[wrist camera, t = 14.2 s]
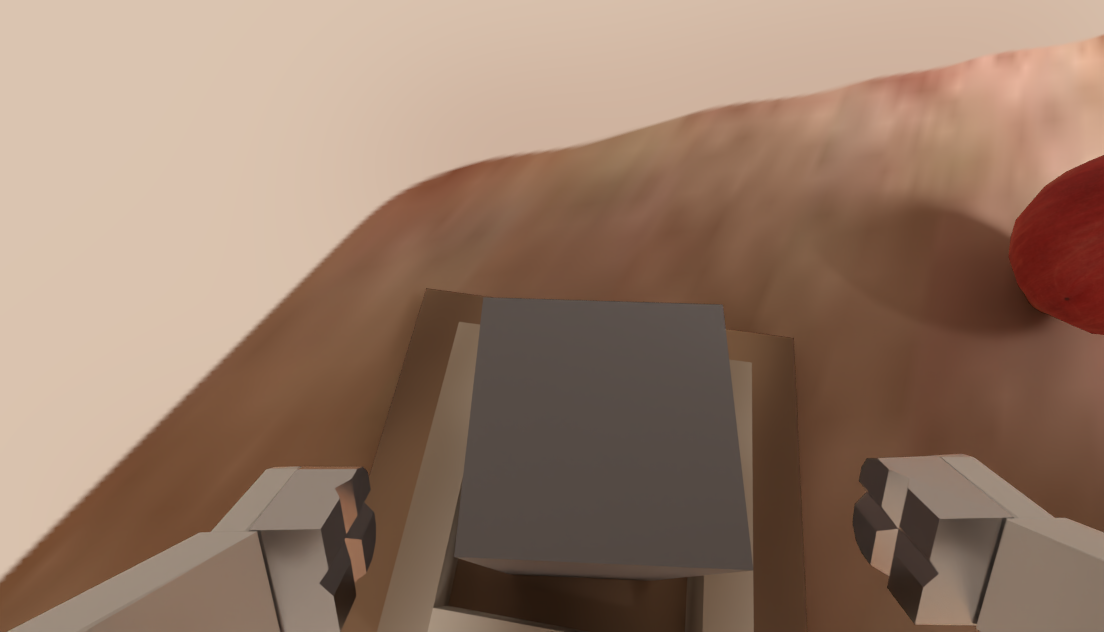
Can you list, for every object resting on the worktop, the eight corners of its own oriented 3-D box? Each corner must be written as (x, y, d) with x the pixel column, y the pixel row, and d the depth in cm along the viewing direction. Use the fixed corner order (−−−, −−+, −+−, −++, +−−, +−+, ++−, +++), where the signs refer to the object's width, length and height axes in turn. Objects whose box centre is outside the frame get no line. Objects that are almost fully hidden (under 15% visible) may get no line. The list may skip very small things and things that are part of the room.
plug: (645, 439, 17) (723, 303, 9) (651, 580, 15) (753, 570, 7) (518, 434, 17) (483, 296, 9) (509, 574, 15) (454, 556, 7)
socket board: (782, 349, 19) (818, 311, 17) (799, 818, 14) (858, 873, 11) (432, 301, 20) (413, 258, 18) (309, 716, 15) (253, 745, 12)
